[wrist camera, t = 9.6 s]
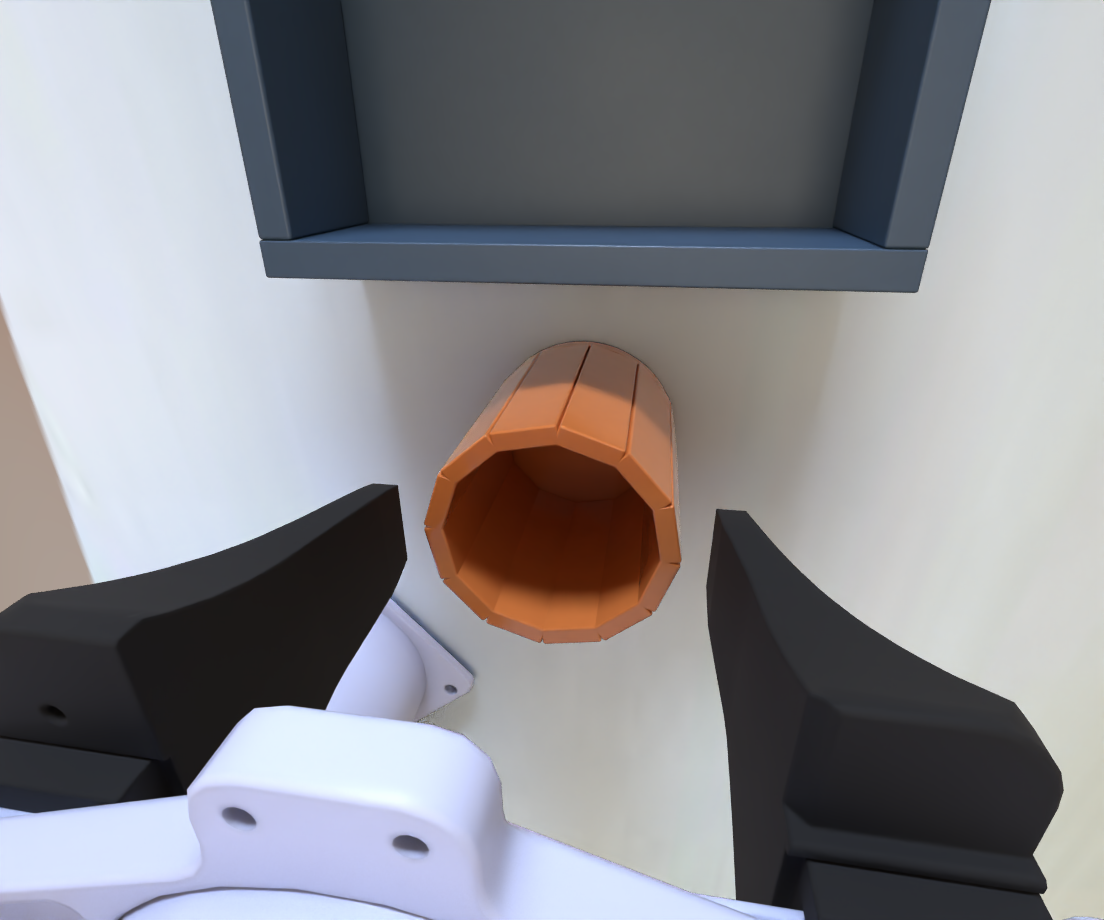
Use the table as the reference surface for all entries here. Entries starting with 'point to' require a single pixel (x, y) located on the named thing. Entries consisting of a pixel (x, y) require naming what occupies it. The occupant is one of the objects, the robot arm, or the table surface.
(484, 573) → the cup
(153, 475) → the table surface
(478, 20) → the dark grey storage bin
